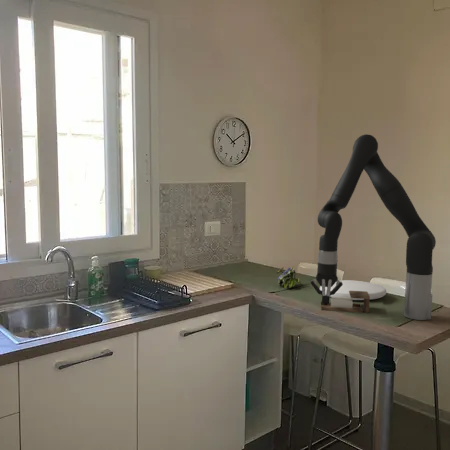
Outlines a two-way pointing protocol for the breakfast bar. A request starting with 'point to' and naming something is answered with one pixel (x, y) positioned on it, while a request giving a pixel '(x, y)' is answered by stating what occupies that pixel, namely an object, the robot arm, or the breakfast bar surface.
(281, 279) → the passion flower
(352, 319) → the breakfast bar surface
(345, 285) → the plate
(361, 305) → the dock
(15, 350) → the breakfast bar surface
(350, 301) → the white rectangular block
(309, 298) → the breakfast bar surface
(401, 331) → the breakfast bar surface
